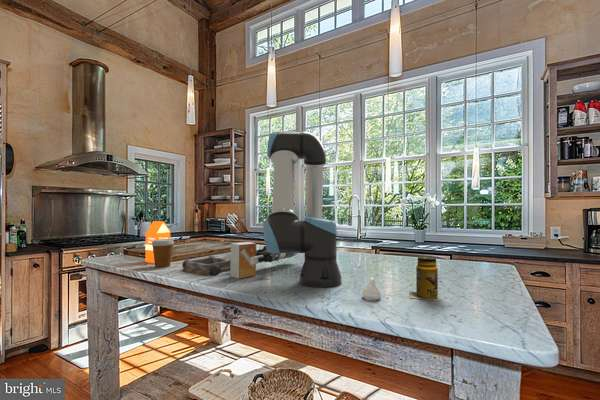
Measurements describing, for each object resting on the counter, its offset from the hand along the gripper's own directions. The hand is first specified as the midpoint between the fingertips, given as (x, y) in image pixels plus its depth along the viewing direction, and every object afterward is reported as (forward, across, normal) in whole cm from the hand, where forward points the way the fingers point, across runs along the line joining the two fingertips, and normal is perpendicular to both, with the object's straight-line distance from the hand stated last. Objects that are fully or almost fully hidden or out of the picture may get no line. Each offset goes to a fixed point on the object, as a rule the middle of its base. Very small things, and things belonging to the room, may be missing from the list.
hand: (238, 259), depth 119 cm
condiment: (-15, -65, -7) cm, 67 cm away
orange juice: (-1, +58, -7) cm, 58 cm away
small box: (-2, 0, -7) cm, 8 cm away
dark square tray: (-4, +20, -7) cm, 21 cm away
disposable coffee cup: (+5, +44, -7) cm, 45 cm away
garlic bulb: (-4, -52, -7) cm, 53 cm away
